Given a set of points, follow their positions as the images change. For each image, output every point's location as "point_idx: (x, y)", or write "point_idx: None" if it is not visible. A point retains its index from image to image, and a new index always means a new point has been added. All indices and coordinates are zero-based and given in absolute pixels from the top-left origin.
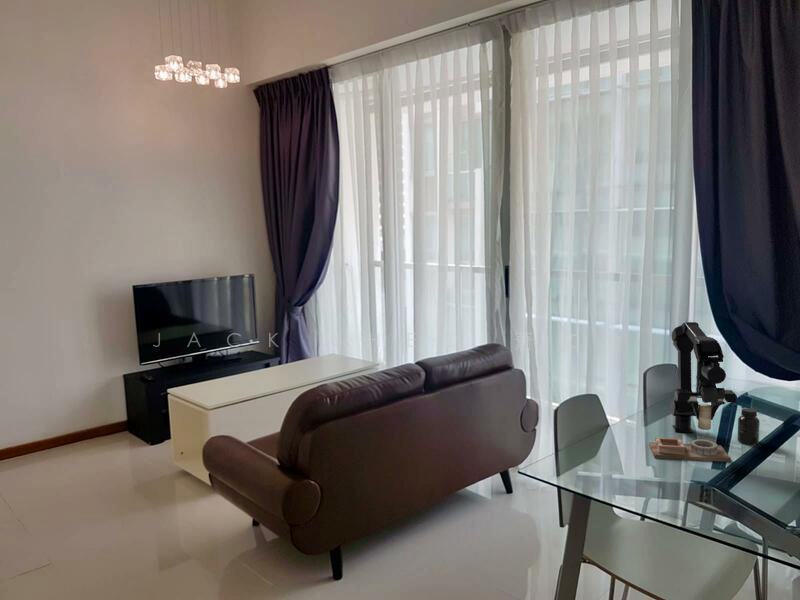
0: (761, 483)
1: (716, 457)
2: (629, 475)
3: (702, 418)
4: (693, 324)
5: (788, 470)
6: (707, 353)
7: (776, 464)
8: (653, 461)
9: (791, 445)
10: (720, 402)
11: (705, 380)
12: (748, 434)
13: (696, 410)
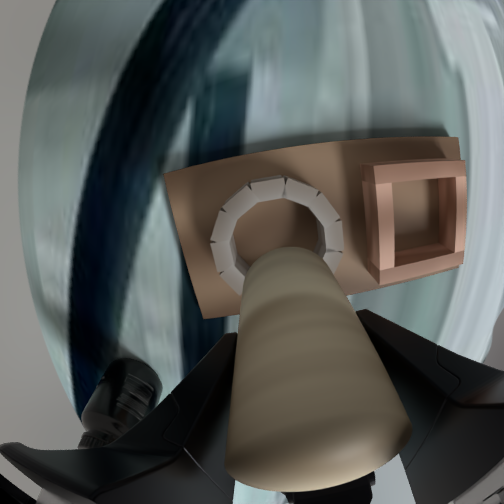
0: (97, 26)
1: (222, 163)
2: (472, 12)
3: (332, 298)
4: None
5: (25, 176)
6: None
7: (45, 213)
8: (450, 105)
9: (55, 362)
10: (50, 487)
11: None
12: (117, 381)
13: (429, 354)
